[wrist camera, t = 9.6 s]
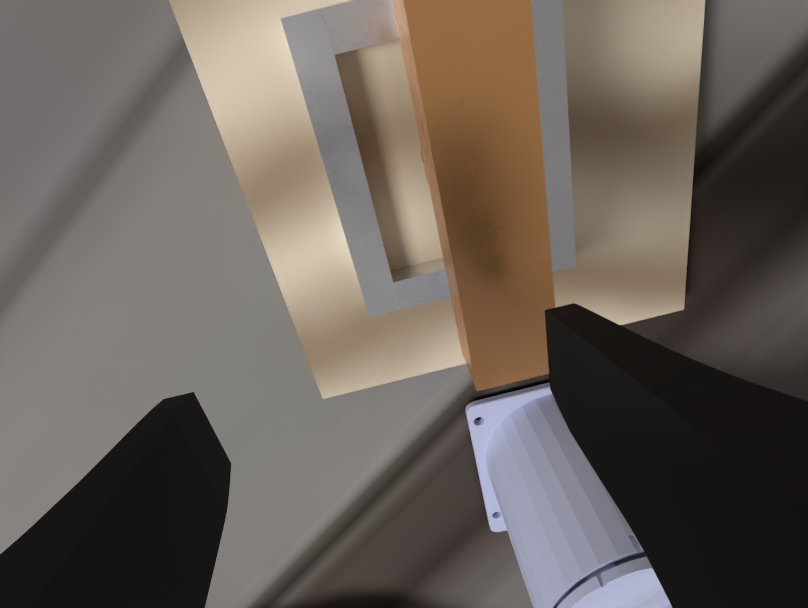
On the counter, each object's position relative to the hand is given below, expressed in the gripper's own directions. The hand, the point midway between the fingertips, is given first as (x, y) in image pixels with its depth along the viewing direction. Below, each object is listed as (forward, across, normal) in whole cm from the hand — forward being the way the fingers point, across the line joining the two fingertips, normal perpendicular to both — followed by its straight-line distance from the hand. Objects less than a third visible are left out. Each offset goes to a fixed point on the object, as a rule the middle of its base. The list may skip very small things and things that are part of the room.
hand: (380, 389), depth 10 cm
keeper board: (+10, -4, -2) cm, 12 cm away
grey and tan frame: (+9, -3, -2) cm, 10 cm away
